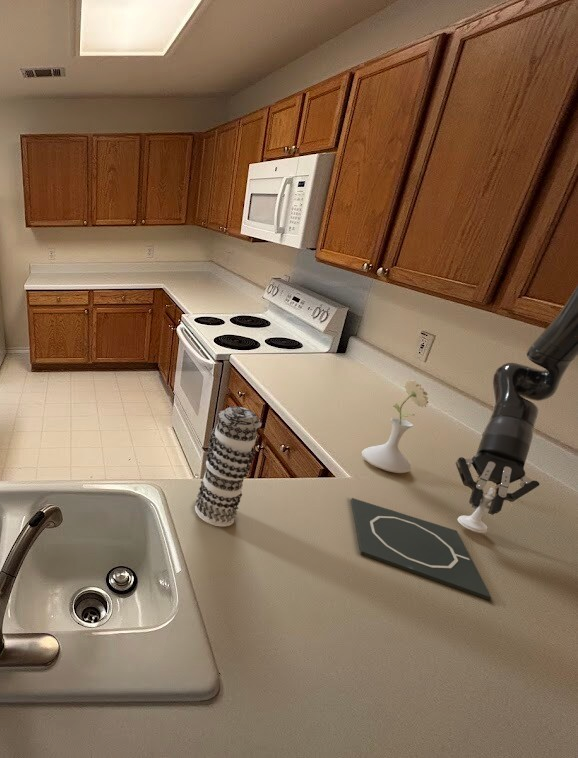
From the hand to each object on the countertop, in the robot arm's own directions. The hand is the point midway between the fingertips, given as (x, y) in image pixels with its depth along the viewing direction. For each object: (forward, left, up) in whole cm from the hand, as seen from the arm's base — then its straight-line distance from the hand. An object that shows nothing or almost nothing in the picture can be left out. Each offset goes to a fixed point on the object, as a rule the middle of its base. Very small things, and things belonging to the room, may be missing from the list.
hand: (483, 509), depth 88 cm
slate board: (+13, +11, -7) cm, 18 cm away
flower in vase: (+13, -25, -7) cm, 29 cm away
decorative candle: (+51, +25, -7) cm, 57 cm away
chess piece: (0, -2, -6) cm, 6 cm away
